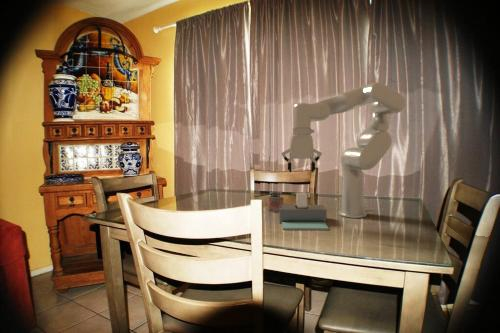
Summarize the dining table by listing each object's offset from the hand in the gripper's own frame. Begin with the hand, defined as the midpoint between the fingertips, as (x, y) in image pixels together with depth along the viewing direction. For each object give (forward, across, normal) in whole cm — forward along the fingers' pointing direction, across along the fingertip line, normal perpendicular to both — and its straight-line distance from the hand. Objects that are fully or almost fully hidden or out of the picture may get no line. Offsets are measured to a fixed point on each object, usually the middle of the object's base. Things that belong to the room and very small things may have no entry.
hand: (301, 171), depth 125 cm
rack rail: (+22, 0, 0) cm, 22 cm away
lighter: (+22, +11, -16) cm, 29 cm away
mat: (+22, 0, +9) cm, 24 cm away
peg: (+22, 0, 0) cm, 22 cm away
